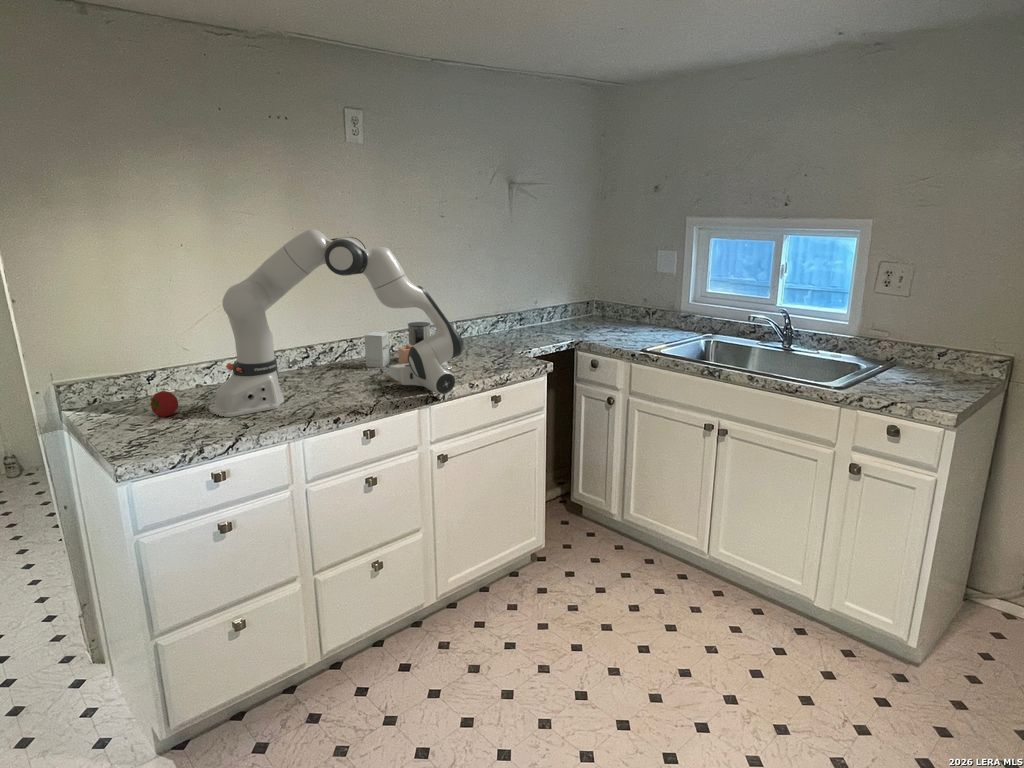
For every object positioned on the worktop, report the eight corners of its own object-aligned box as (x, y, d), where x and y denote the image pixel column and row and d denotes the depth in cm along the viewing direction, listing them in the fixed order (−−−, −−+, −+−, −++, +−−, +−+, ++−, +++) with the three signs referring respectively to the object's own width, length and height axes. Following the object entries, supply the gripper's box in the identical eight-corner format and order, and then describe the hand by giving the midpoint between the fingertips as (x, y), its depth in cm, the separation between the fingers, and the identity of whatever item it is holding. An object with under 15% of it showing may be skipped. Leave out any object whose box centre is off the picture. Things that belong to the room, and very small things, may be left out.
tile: (399, 388, 226) (399, 385, 226) (384, 378, 237) (384, 376, 237) (436, 382, 233) (436, 379, 233) (420, 373, 244) (420, 370, 244)
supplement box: (383, 367, 253) (381, 335, 249) (365, 366, 254) (363, 335, 251) (390, 363, 260) (388, 332, 256) (373, 362, 261) (371, 331, 258)
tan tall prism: (405, 380, 231) (404, 347, 228) (399, 377, 236) (397, 344, 232) (420, 378, 234) (419, 345, 231) (414, 374, 239) (413, 342, 235)
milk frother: (405, 358, 268) (404, 322, 264) (442, 354, 275) (441, 319, 271) (417, 365, 256) (415, 328, 252) (454, 361, 263) (453, 325, 259)
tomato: (174, 384, 199) (149, 386, 192) (186, 403, 196) (161, 405, 190) (164, 402, 202) (139, 404, 196) (175, 421, 200) (150, 424, 193)
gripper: (453, 360, 225) (437, 352, 236) (397, 367, 215) (383, 358, 226) (454, 377, 227) (437, 369, 238) (398, 386, 217) (384, 376, 228)
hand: (410, 364), depth 232 cm, fingers open, 8 cm apart
